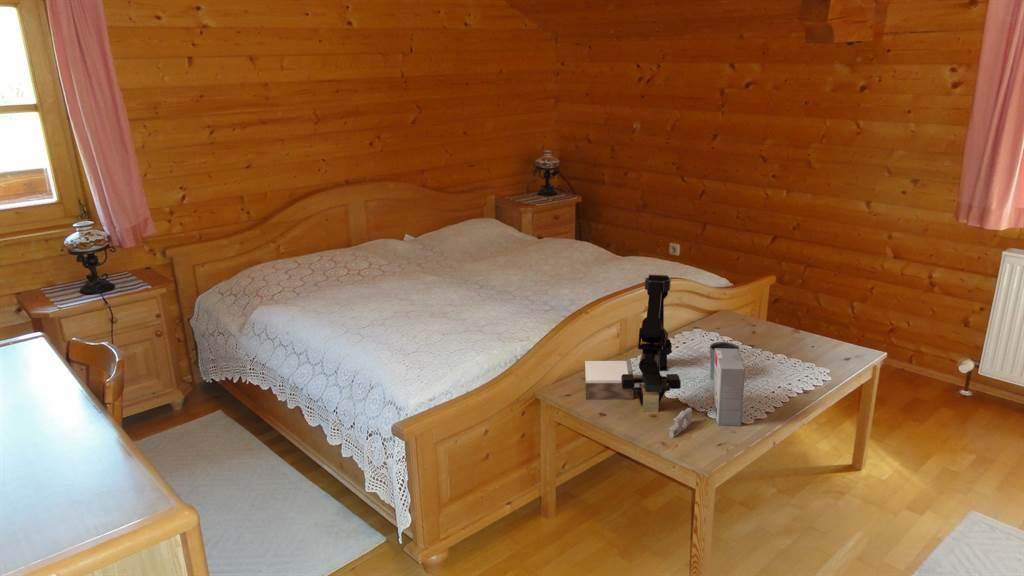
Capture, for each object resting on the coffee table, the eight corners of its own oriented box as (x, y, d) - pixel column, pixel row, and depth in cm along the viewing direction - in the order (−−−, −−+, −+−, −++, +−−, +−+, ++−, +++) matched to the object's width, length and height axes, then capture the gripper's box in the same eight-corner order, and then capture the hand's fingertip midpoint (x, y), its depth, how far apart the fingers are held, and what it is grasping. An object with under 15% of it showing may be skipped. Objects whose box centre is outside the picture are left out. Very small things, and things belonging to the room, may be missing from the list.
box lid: (630, 363, 255) (630, 355, 254) (633, 383, 240) (633, 375, 239) (585, 363, 256) (585, 355, 256) (585, 383, 241) (585, 375, 240)
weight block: (656, 404, 238) (657, 388, 236) (658, 411, 233) (658, 395, 231) (641, 404, 238) (641, 388, 236) (642, 411, 234) (643, 395, 232)
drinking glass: (711, 384, 250) (713, 353, 246) (705, 372, 260) (706, 341, 256) (740, 383, 250) (743, 352, 246) (733, 371, 259) (735, 341, 256)
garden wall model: (673, 438, 217) (673, 421, 215) (668, 437, 218) (668, 419, 216) (692, 423, 225) (692, 406, 224) (687, 421, 227) (687, 404, 225)
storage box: (629, 378, 257) (630, 363, 255) (633, 399, 242) (633, 383, 240) (585, 378, 258) (585, 363, 257) (585, 399, 243) (585, 383, 241)
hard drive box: (711, 402, 238) (714, 347, 231) (735, 403, 236) (739, 348, 230) (716, 425, 223) (720, 367, 217) (742, 426, 222) (746, 368, 216)
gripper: (623, 372, 224) (623, 416, 229) (683, 372, 222) (682, 416, 227) (621, 357, 234) (620, 400, 239) (678, 357, 232) (677, 400, 237)
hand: (649, 404), depth 235 cm, fingers closed on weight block, 5 cm apart
